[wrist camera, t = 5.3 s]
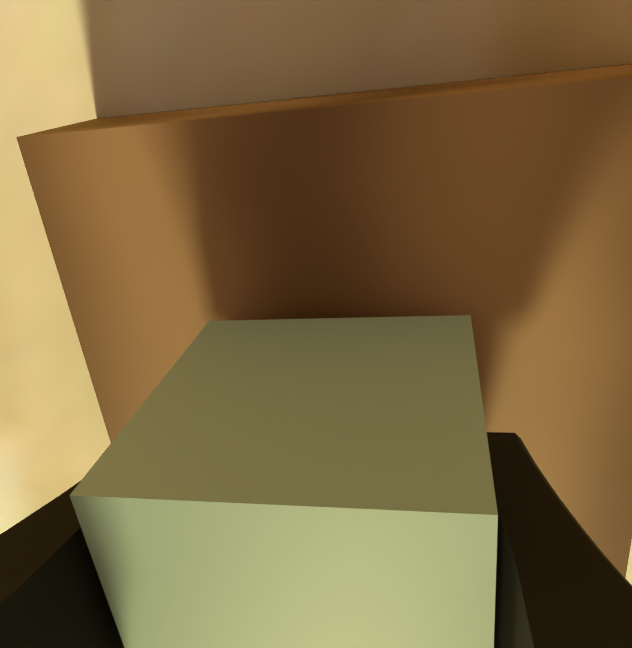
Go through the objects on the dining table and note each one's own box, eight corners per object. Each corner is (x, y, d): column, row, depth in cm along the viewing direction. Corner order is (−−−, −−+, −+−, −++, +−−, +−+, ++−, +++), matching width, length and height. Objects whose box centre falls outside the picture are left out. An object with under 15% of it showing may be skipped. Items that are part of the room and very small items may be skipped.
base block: (643, 62, 11) (706, 69, 9) (588, 524, 16) (618, 617, 14) (95, 118, 14) (16, 137, 11) (192, 505, 19) (153, 581, 16)
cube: (470, 315, 10) (497, 515, 6) (469, 525, 13) (489, 789, 8) (209, 320, 12) (68, 495, 7) (248, 514, 14) (158, 743, 9)
